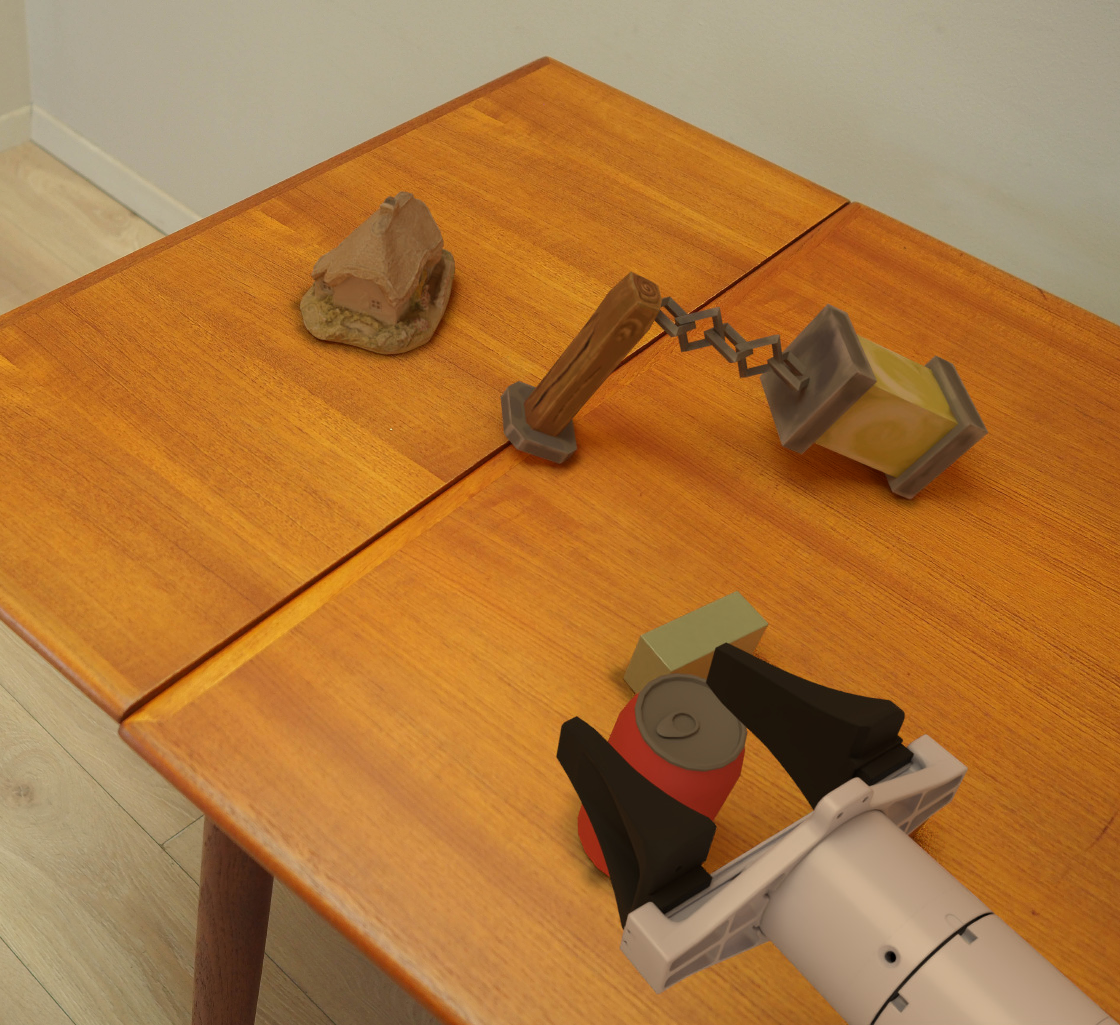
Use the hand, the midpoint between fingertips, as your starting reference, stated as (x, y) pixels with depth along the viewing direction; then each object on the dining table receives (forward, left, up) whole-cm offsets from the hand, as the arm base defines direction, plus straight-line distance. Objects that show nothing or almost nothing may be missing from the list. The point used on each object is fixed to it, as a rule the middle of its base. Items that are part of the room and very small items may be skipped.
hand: (644, 698), depth 45 cm
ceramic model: (+51, -19, -22) cm, 58 cm away
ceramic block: (+10, -18, -22) cm, 30 cm away
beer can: (+2, -8, -22) cm, 24 cm away
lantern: (+25, -34, -22) cm, 48 cm away
